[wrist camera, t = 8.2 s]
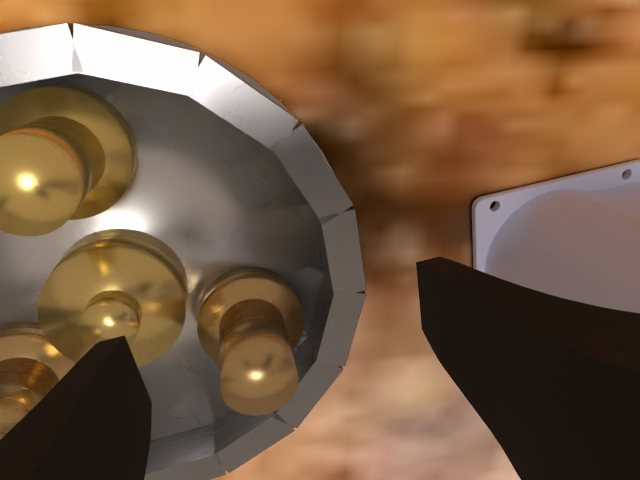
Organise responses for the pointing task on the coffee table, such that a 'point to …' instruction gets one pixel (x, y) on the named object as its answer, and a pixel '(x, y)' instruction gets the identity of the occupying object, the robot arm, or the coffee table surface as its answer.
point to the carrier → (185, 253)
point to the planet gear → (61, 158)
